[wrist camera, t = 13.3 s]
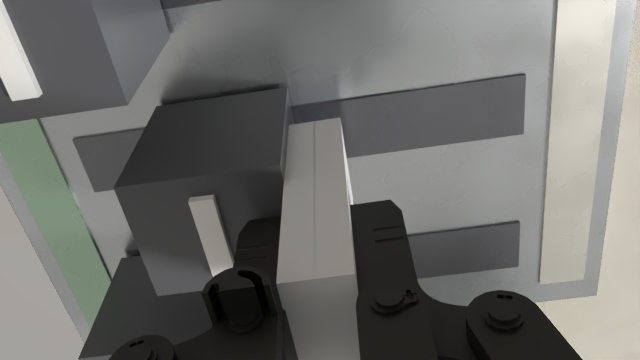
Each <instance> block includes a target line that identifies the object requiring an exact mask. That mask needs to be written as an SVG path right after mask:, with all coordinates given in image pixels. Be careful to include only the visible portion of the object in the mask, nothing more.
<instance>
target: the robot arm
mask: <svg viewBox="0 0 640 360" xmlns="http://www.w3.org/2000/svg"><path fill="white" fill-rule="evenodd" d="M201 294H202V297H203V299H204V302H205V305H206V308H207V311H208V313H209V316H210V319H211V322H212V328H210V329H209V330H207V331H206V332H204V333H203V334H201V335H199V336H197V337H194V338H192V339H189V340H187V341H184V342H182V343H179V344H176V345H174V346H173V345H172V343H171V342H170V341H169V340H168V339H167V338H166V337H162V336H159V335H145V336H140V337H138V338H135V339H132V340H130V341H128V342H127V343H125V344H124V345H122V346H121V347H119V348H118V349H117V350H116V351H115V352H114V354H113V355H112V356H111V357H110V358H109V360H582V359H581V357H580V356H579V355H578V354H577V353H576V351H575V350H574V349H573V348H572V347H571V345H570V344H569V343H568V342H567V341H566V339H565V338H564V337H563V336H562V335H561V333H560V332H559V331H558V330H557V329H556V327H555V326H554V325H553V324H552V323H551V321H550V320H549V319H548V318H547V317H546V315H545V314H544V313H543V312H542V311H541V309H540V308H539V307H538V306H537V305H536V304H535V303H534V302H532V301H531V300H530V299H529V298H528V297H526V296H523V295H521V294H518V293H516V292H513V291H504V290H496V291H490V292H485V293H483V294H481V295H479V296H477V297H475V298H474V299H473V300H472V301H471V303H470V304H469V305H468V306H460V305H453V304H448V303H443V302H440V301H438V300H436V299H433V298H432V297H430V296H429V295H427V294H426V293H425V292H424V291H423V290H422V288H421V287H420V285H419V283H418V280H417V276H416V272H415V267H414V263H413V258H412V254H411V249H410V245H409V240H408V236H407V232H406V227H405V223H404V218H403V214H402V210H401V209H400V208H399V207H398V206H397V205H396V204H395V203H394V202H393V201H392V200H391V199H390V200H383V201H375V202H368V203H361V204H353V196H352V190H351V183H350V177H349V170H348V164H347V158H346V151H345V145H344V138H343V132H342V125H341V119H340V118H333V119H327V120H320V121H313V122H306V123H300V124H293V125H289V128H288V141H287V154H286V166H285V179H284V187H283V200H282V214H281V216H276V217H269V218H261V219H254V220H249V221H248V222H247V224H246V225H245V226H244V228H243V229H242V230H241V232H240V233H239V235H238V240H237V246H236V252H235V258H234V263H233V268H229V269H226V270H224V271H222V272H220V273H219V274H217V275H215V276H214V277H213V278H212V279H211V280H210V281H209V282H207V283H206V285H205V287H204V289H203V291H202V293H201Z"/></svg>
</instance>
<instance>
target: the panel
mask: <svg viewBox="0 0 640 360" xmlns="http://www.w3.org/2000/svg"><path fill="white" fill-rule="evenodd" d="M636 2H637V0H160V3H161V7H162V10H163V13H164V17H165V20H166V24H167V27H168V30H169V34H170V39H169V40H168V42H167V43H166V45H165V47H164V48H163V50H162V51H161V53H160V55H159V56H158V58H157V59H156V61H155V63H154V64H153V66H152V67H151V69H150V71H149V72H148V74H147V75H146V77H145V79H144V80H143V82H142V83H141V85H140V87H139V88H138V90H137V91H136V93H135V95H134V96H133V98H132V99H131V101H130V103H129V104H128V105H127V106H120V107H113V108H106V109H99V110H92V111H86V112H79V113H72V114H65V115H58V116H51V117H45V118H38V119H31V120H24V121H17V122H11V123H4V124H0V185H1V187H2V189H3V190H4V193H5V194H6V196H7V198H8V200H9V202H10V204H11V206H12V208H13V210H14V211H15V213H16V215H17V217H18V219H19V221H20V223H21V225H22V227H23V228H24V230H25V232H26V234H27V236H28V238H29V240H30V242H31V244H32V245H33V247H34V249H35V251H36V253H37V255H38V257H39V259H40V261H41V263H42V264H43V266H44V268H45V270H46V272H47V274H48V276H49V277H50V280H51V281H52V283H53V285H54V287H55V289H56V291H57V293H58V295H59V297H60V298H61V300H62V302H63V304H64V306H65V308H66V310H67V312H68V314H69V315H70V317H71V319H72V321H73V323H74V325H75V327H76V329H77V330H78V333H79V334H80V336H81V338H82V340H83V342H84V344H85V342H86V340H87V337H88V335H89V333H90V330H91V328H92V326H93V323H94V321H95V318H96V316H97V314H98V311H99V309H100V307H101V304H102V302H103V300H104V297H105V295H106V293H107V290H108V288H109V286H110V283H111V281H112V279H113V276H114V274H115V272H116V269H117V267H118V265H119V262H120V260H121V258H126V257H133V256H141V254H140V252H139V250H138V247H137V245H136V242H135V240H134V237H133V235H132V232H131V230H130V227H129V225H128V223H127V220H126V218H125V215H124V213H123V210H122V208H121V205H120V203H119V200H118V198H117V195H116V193H115V191H114V186H115V184H116V182H117V180H118V178H119V176H120V174H121V173H122V171H123V169H124V167H125V165H126V163H127V161H128V159H129V157H130V155H131V154H132V152H133V150H134V148H135V146H136V144H137V142H138V140H139V138H140V136H141V135H142V133H143V131H144V129H145V127H146V125H147V123H148V121H149V119H150V117H151V116H152V114H153V112H154V110H155V108H156V106H161V105H168V104H175V103H182V102H189V101H196V100H202V99H209V98H216V97H223V96H230V95H237V94H244V93H250V92H257V91H264V90H271V89H278V88H285V87H287V88H288V93H289V98H290V103H291V108H292V114H293V119H294V124H300V123H306V122H313V121H320V120H327V119H333V118H340V119H341V125H342V132H343V138H344V145H345V151H346V158H347V164H348V170H349V177H350V183H351V190H352V196H353V204H361V203H368V202H375V201H383V200H390V199H391V200H392V201H393V202H394V203H395V204H396V205H397V206H398V207H399V208H400V209H401V210H402V214H403V218H404V223H405V227H406V232H407V236H408V240H409V245H410V249H411V254H412V258H413V263H414V267H415V272H416V276H417V280H418V283H419V285H420V287H421V288H422V290H423V291H424V292H425V293H426V294H427V295H429V296H430V297H432V298H433V299H436V300H438V301H440V302H443V303H448V304H453V305H460V306H468V305H469V304H470V303H471V301H472V300H473V299H474V298H475V297H477V296H479V295H481V294H483V293H485V292H490V291H496V290H504V291H513V292H516V293H518V294H521V295H523V296H526V297H528V298H529V299H530V300H531V301H532V302H534V303H535V302H543V301H552V300H561V299H569V298H578V297H587V296H595V295H597V288H598V280H599V273H600V266H601V258H602V251H603V244H604V236H605V229H606V222H607V214H608V207H609V200H610V192H611V185H612V178H613V170H614V163H615V156H616V148H617V141H618V134H619V126H620V119H621V112H622V104H623V97H624V90H625V82H626V75H627V68H628V60H629V53H630V46H631V38H632V31H633V24H634V16H635V9H636Z"/></svg>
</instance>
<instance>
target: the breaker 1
mask: <svg viewBox="0 0 640 360" xmlns="http://www.w3.org/2000/svg"><path fill="white" fill-rule="evenodd" d="M169 39H170V34H169V30H168V27H167V24H166V20H165V17H164V13H163V10H162V7H161V3H160V0H0V124H4V123H11V122H17V121H24V120H31V119H38V118H45V117H51V116H58V115H65V114H72V113H79V112H86V111H92V110H99V109H106V108H113V107H120V106H127V105H128V104H129V103H130V101H131V99H132V98H133V96H134V95H135V93H136V91H137V90H138V88H139V87H140V85H141V83H142V82H143V80H144V79H145V77H146V75H147V74H148V72H149V71H150V69H151V67H152V66H153V64H154V63H155V61H156V59H157V58H158V56H159V55H160V53H161V51H162V50H163V48H164V47H165V45H166V43H167V42H168V40H169Z"/></svg>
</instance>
